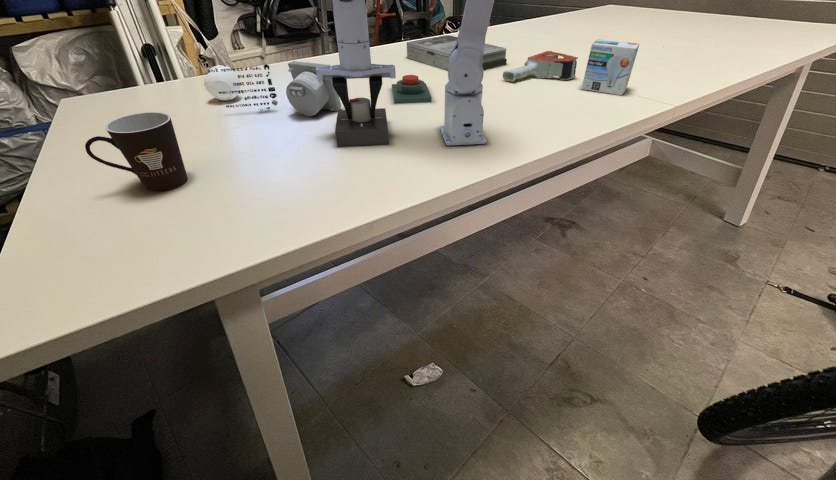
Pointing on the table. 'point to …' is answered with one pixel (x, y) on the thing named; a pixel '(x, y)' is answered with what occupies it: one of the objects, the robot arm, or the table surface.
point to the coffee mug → (146, 149)
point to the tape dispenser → (545, 67)
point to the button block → (411, 93)
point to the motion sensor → (222, 83)
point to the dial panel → (362, 130)
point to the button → (410, 80)
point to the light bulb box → (609, 66)
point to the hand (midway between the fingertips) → (361, 117)
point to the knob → (360, 109)
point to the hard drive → (441, 47)
